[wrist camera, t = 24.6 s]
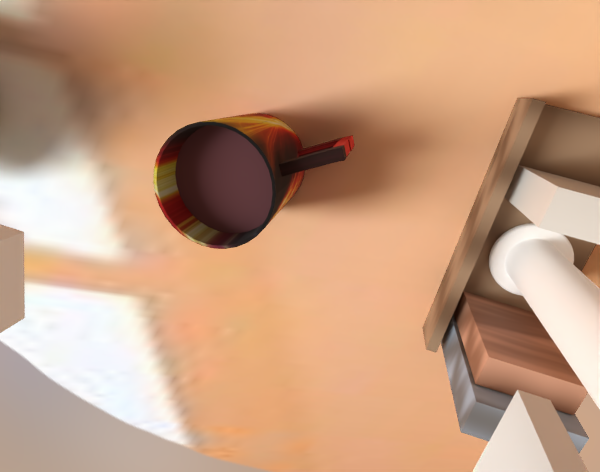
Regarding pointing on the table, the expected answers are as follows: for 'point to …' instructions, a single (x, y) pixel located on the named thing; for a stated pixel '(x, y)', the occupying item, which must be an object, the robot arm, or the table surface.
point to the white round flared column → (553, 294)
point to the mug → (234, 176)
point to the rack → (499, 302)
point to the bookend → (557, 203)
